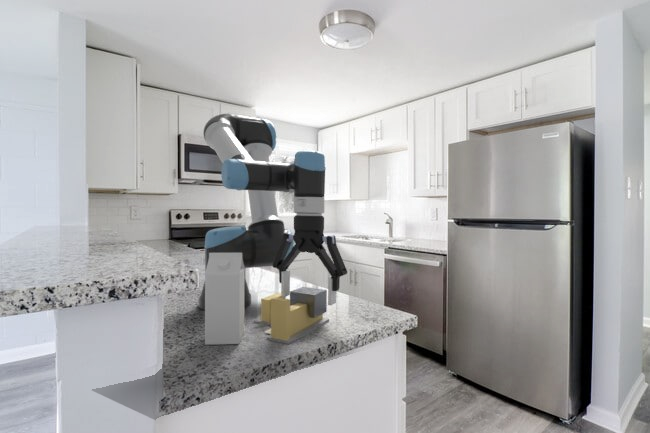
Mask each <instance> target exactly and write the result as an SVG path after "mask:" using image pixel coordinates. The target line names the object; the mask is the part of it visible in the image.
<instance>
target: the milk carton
mask: <svg viewBox="0 0 650 433" xmlns="http://www.w3.org/2000/svg"><path fill="white" fill-rule="evenodd" d="M204 282H205V310H204V344H205V345H206V346H207V345H213V346H214V345H239V344H240V343H241V341H242V338H243V335H244V333H245V308H244V263H243V259H242V253H209V260H208V264H207V268H206V272H205V271H204Z"/></svg>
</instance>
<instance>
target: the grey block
mask: <svg viewBox="0 0 650 433" xmlns="http://www.w3.org/2000/svg"><path fill="white" fill-rule="evenodd" d="M327 290H328V289H323V288H316V287H315V288H314V287H305V286H301V287H299V288H296V289H293V290H290V295H289V300H290V306H291V305H294V304H296V303H301V304H308V305H309V317H310V318H316V317H318V316H320V315H321V314H323V315H324V314H326V313H327V306H328V291H327Z"/></svg>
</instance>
